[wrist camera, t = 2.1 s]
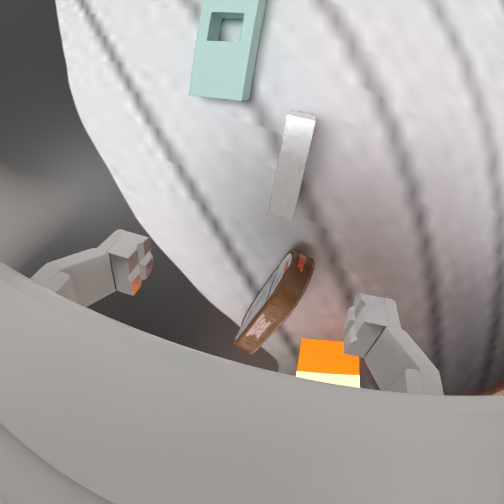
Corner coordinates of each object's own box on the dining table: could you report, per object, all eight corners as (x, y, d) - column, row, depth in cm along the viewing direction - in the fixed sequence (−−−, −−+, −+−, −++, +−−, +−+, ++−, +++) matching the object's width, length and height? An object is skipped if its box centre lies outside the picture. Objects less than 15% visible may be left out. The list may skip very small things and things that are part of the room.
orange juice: (349, 370, 43) (341, 482, 27) (298, 366, 45) (277, 477, 29) (359, 341, 39) (356, 470, 22) (301, 337, 41) (278, 466, 24)
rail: (279, -64, 13) (274, -77, 11) (249, 99, 25) (241, 101, 22) (230, -65, 14) (221, -76, 11) (201, 93, 25) (189, 95, 23)
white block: (295, 108, 24) (287, 114, 18) (316, 112, 24) (315, 121, 18) (280, 183, 29) (268, 213, 23) (299, 187, 29) (292, 219, 22)
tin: (260, 320, 40) (246, 367, 34) (240, 310, 40) (224, 357, 33) (318, 245, 32) (315, 295, 25) (294, 232, 32) (285, 279, 25)
